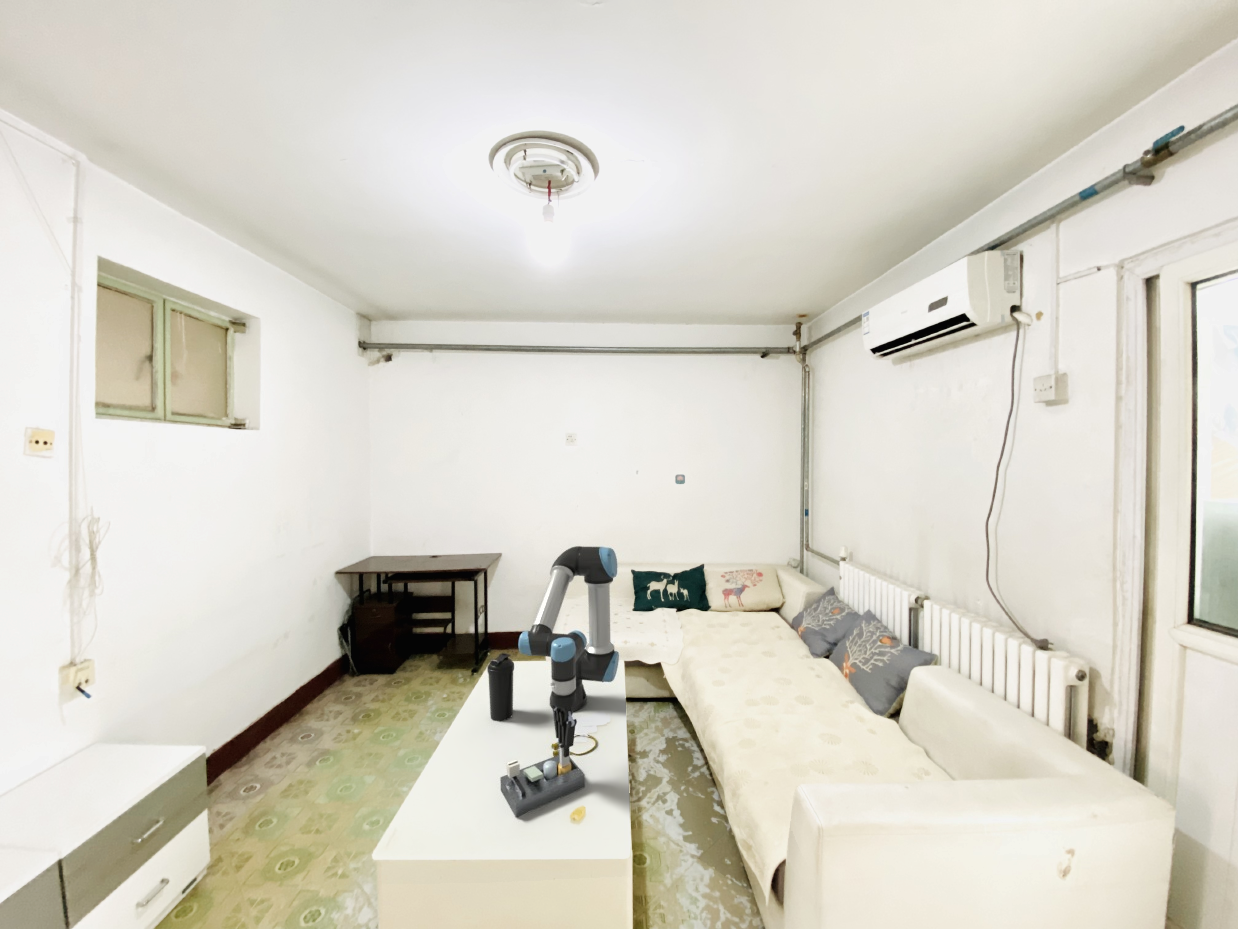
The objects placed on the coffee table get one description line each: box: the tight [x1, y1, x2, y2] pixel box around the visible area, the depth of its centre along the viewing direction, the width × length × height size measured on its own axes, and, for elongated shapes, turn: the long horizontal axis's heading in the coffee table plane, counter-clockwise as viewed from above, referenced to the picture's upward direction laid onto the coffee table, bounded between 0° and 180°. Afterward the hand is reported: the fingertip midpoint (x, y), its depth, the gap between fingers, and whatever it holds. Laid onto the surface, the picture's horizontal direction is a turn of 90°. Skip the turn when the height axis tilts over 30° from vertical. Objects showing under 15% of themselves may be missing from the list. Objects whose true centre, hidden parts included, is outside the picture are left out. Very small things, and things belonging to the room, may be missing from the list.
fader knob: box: [506, 759, 521, 778], centre depth 144 cm, size 3×2×3 cm
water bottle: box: [486, 652, 515, 722], centre depth 186 cm, size 10×10×23 cm
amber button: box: [558, 763, 571, 776], centre depth 149 cm, size 4×4×4 cm
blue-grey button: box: [543, 761, 557, 781], centre depth 147 cm, size 4×4×4 cm
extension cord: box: [550, 734, 598, 757], centre depth 166 cm, size 12×16×2 cm
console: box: [499, 755, 586, 818], centre depth 145 cm, size 22×13×5 cm, turn 122°
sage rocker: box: [523, 766, 543, 782], centre depth 144 cm, size 4×7×1 cm, turn 32°
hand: (564, 764), depth 149 cm, fingers closed
